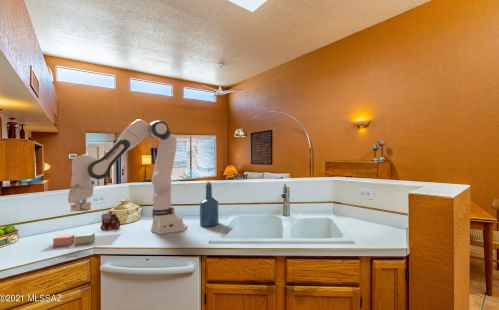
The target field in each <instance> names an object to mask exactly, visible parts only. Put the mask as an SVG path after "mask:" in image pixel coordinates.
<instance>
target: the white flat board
mask: <svg viewBox="0 0 499 310" xmlns="http://www.w3.org/2000/svg"><path fill="white" fill-rule="evenodd" d="M120 236H122V233H114V234H105V235H104V234H103V235H95V240H94V241H93V242H91V243H80V244H75V237H74V242H73V243H72V244H70V245H59V246H53V243H52V244H51V245H49V246H47V247H46V248H44V249H42V250H40V252H50V251H61V250H72V249H81V248H82V249H83V248H89V247H91V248H92V247H102V246H103V247H104V246H110V245H112V244H114V243H115V242H116V240H117V239H118V238H119V237H120Z"/></svg>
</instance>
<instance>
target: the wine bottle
mask: <svg viewBox="0 0 499 310" xmlns="http://www.w3.org/2000/svg"><path fill="white" fill-rule="evenodd" d="M212 191H213V187H212V183H211V181H207V182H206V184H205V198H204V199H203V200H201V201H200V202H199V226H201V227H204V228H209V227H210V228H211V227H216V226H217V225H219V221H220V220H219V216H220V215H219V201H218V200H217V199H216V198H214V197H213V192H212Z"/></svg>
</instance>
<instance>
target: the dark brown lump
mask: <svg viewBox="0 0 499 310" xmlns="http://www.w3.org/2000/svg"><path fill="white" fill-rule="evenodd" d="M120 227H121V220H120V219H119V217H118V216H117V214H116V213H114V214H112V213H103V214H101V225H100V230H101V231H106V230H115V229H116V230H117V229H119V228H120Z"/></svg>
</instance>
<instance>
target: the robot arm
mask: <svg viewBox="0 0 499 310" xmlns="http://www.w3.org/2000/svg"><path fill="white" fill-rule="evenodd" d="M147 136H149V137H150V138H155V139H158V142H159V145H158V149H157V153H156V160H155V164H154V168H153V171H152V176H151V184H152V185H153V195H152V207H153V208H152V210H151V213H152V214H151V216H152V224H151V227H150V232H151V233H155V234H157V235H164V234H170V233H174V232H175V233H177V232H182V231H185V230H186V229H187V228H188V227H187V224H186V223H185V222H184V220H183V217H182V216H180V215H179V214H177V213H175V207H172V174H173V173H172V172H173V168H174V163H175V157H176V152H177V147H178V146H177V143H178V142H177V141H178V140H177V137H176V136H175V135H174V134H171V130H170V127H169V125H168V123H167V122H166V121H163V120H155V121H151V122H150V123H149V122H146V121H145V120H144V119H136V120H134V121H133V122H131V123H130V124H129V125H128V126H126V128H125V129H124V130H122V132H121V133H120V134H119V137H118V138H117V140H116V142H115V143H114V145H113V146H112V148H110V150H108V152H106V153H105V154H104V155H103V156H102V157H101V158H97V157H95V156H93V155H91V154H89V153H87V154H86V153H85V154H79V155H75V156H74V157H73V158H72V161H71V173H72V176H71V184H70V185H71V187H70V189H69V190H68V196H67V202H68V204H72V203H75V205H76V209H81V206H80V203H81V202H88V199H89V198H91V197H93V194H94V185H95V181H94V180H102V179H105V178H106V177H108V176H109V174H110V173H111V169H112V166H113V165H114V164H115V163H116V162H117V161H118V160H119V159H120V158H121V157H122V156H123V154H125V153H127V152H128V151H130V150H132V149H134V148H135V147H136V146H137V145H138V144H140V143H141V141H143V140H144V138H146V137H147Z"/></svg>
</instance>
